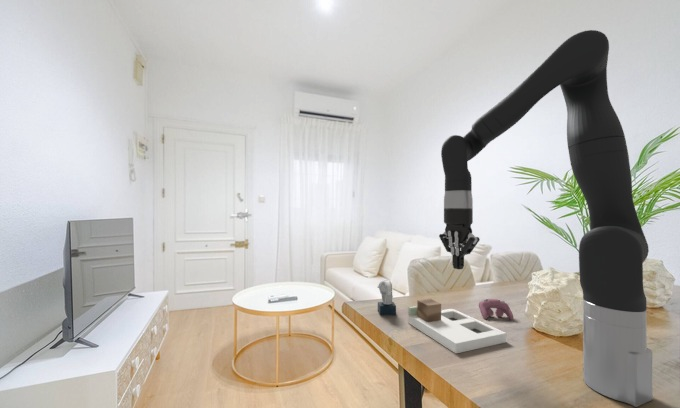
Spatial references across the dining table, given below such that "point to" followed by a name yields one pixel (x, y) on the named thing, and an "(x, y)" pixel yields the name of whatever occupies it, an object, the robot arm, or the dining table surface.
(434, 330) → the board
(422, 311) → the walnut block
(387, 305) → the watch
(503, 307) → the video game controller
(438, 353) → the dining table surface
